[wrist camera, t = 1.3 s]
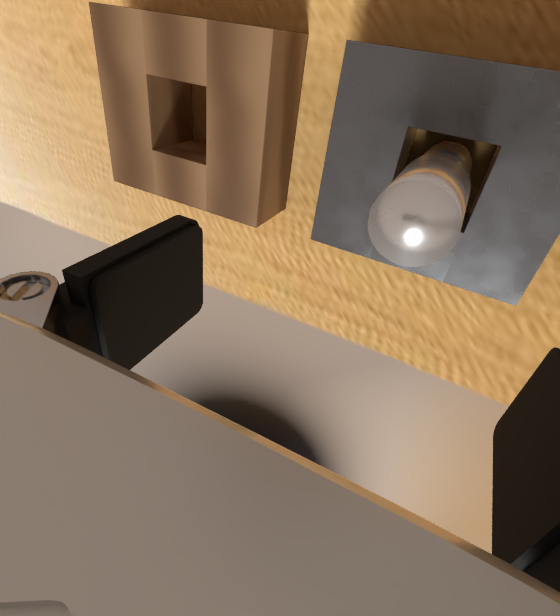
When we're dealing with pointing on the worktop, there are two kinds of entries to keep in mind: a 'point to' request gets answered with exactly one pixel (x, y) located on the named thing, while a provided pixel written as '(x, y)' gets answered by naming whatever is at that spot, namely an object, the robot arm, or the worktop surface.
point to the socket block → (457, 122)
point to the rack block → (219, 108)
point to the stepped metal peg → (423, 207)
